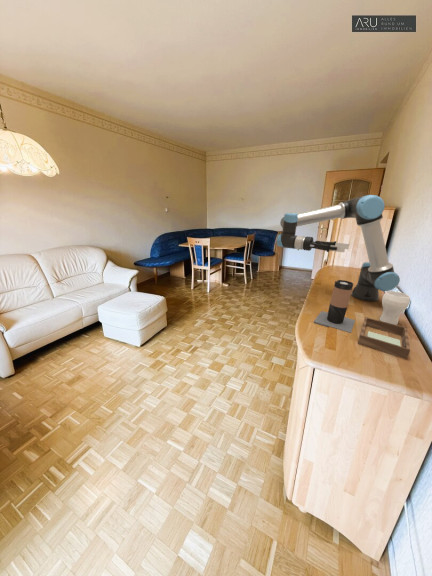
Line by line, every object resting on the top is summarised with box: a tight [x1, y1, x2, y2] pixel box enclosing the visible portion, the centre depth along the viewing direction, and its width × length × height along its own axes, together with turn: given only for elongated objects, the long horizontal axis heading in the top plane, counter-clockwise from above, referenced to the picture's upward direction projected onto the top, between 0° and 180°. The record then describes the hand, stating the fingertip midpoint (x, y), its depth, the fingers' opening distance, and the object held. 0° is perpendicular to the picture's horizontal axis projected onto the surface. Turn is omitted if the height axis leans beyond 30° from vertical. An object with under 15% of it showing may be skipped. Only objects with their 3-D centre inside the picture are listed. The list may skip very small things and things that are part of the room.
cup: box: [379, 290, 411, 325], centre depth 113 cm, size 11×11×15 cm
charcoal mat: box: [313, 310, 356, 334], centre depth 112 cm, size 16×16×1 cm
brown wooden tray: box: [357, 316, 411, 360], centre depth 97 cm, size 22×16×4 cm
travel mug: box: [327, 279, 354, 324], centre depth 109 cm, size 8×8×20 cm
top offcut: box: [366, 331, 402, 347], centre depth 92 cm, size 8×11×1 cm
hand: (346, 248), depth 115 cm, fingers open, 13 cm apart
